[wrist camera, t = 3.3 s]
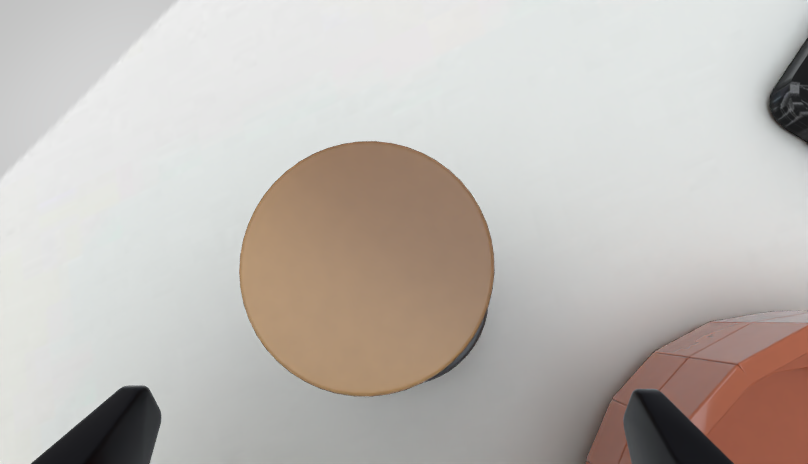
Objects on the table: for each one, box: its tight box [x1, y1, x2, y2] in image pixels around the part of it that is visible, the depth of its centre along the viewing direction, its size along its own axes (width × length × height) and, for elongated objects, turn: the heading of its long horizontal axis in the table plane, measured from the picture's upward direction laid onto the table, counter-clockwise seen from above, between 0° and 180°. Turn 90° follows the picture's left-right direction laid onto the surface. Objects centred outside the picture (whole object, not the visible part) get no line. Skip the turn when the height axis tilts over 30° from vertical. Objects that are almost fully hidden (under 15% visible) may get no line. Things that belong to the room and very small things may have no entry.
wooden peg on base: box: [239, 141, 494, 396], centre depth 13 cm, size 5×5×13 cm
